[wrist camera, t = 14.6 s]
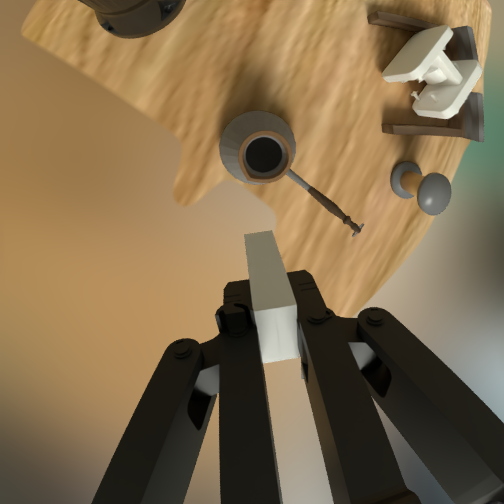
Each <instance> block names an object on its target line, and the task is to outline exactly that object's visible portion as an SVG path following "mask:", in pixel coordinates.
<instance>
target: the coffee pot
mask: <svg viewBox="0 0 504 504" xmlns="http://www.w3.org/2000/svg"><path fill="white" fill-rule="evenodd" d="M219 147H220V156H221V159H222V162H223V164H224V166H225V167H226V169H227V171H228V172H229V173H230V174H232V175H233V176H234V177H235V178H236V179H238V180H240V181H242V182H244V183H249V184H254V185H256V184H266V183H271V182H274V181H277V180H279V179H280V178H282V177H283V176H284V175H285V174H286V175H287V176H289V177H290V178H291V179H293V180H294V181H295V182H297V183H298V184H299V185H301V186H302V187H303V188H304V189H306V190H307V191H308V192H309V193H310V194H311V195H312V196H313V197H314V198H315V199H316V200H317V201H319V202H320V203H321V204H322V205H323V206H324V207H325V208H326V209H327V210H328V211H329V212H331V213H332V214H334V215H335V216H337V217H339V218H340V219H342V220H343V223H344V224H348V225H349V226H350V227H351V229H352V230H354V231H355V232H354V233H353V235H352V237H354V236H355V235H357V233H360V231H361V229H362V227H363V226H364V224H363V223H362V224H361V225H360V226H358V225H357V224H356V223H353V222H352V221H351V218H350V216H346V215H345V214H344V213H343V212H342V211H341V209H340V208H339V207H338V206H337V205H336V204H335V203H334V202H332V201H331V200H330V199H328V198H327V197H326V196H324V195H323V194H322V193H320V192H319V191H318V190H316V189H315V188H313V187H312V186H310V185H309V184H308V183H306V182H305V181H304V180H303V179H302V178H301V177H299V176H298V175H297V174H296V173H294V172H293V171H292V170H291V169H290V167H291V164H292V163H293V160H294V157H295V153H296V142H295V139H294V135H293V132H292V131H291V129H290V127H289V126H288V124H287V123H286V122H285V121H283V120H282V119H281V118H280V117H278V116H276V115H275V114H273V113H269V112H265V111H250V112H247V113H243V114H241V115H239V116H238V117H236V118H234V119H233V120H232V121H231V122H230V123H229V124H228V125H227V126H226V128H225V130H224V132H223V133H222V136H221V140H220V144H219ZM360 227H361V228H360ZM355 233H356V234H355Z"/></svg>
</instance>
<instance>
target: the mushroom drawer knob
mask: <svg viewBox="0 0 504 504" xmlns="http://www.w3.org/2000/svg"><path fill="white" fill-rule="evenodd" d="M390 182H391V187H392V190H393V191H394V193H395V194H396V195H398V196H399V197H401V198H404V199H409V198H412V197H414V196H415V197H417V201H418V205H419V207H420V208H421V209H422V211H424V212H425V213H427V214H429V215H438V214H440V213H441V212H443V211H444V210H445V209H446V207H447V206H448V204H449V202H450V198H451V185H450V182H449V180H448V179H447V178H446V177H445V176H444V175H442V174H439V173H430V174H428V175H426V176H425V177H424V176H422V173H421V170H420V168H419V167H418V166H417V165H416V164H414V163H411V162H407V161H405V162H401V163H399V164H398V165H397V166H396V167H395V168H394V170H393V171H392V174H391V179H390Z"/></svg>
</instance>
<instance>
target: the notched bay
mask: <svg viewBox="0 0 504 504" xmlns="http://www.w3.org/2000/svg"><path fill="white" fill-rule="evenodd" d="M367 18H368V23H369V24H374V25H380V26H387V27H393V28H398V29H403V30H408V31H413V32H417V33H418V32H420V31H423V30H427V29H431V28H435V27H438V26H439V25H436V24H433V23H429V22H426V21H422V20H418V19H414V18H410V17H406V16H401V15H397V14H392V13H386V12H381V11H376V12H375V13H373V14H371V15H369V16H368V17H367ZM451 30H452V31H453V36H452V37H451V39H450V40H449V41H448V43H447V44H446V46H447V47H446V46H445V47H446V48H445V49H446V50H442V51H443V52H444V53H445V55H446V56H447V57H448V58H449V60H450V61H459V60H477V61H478V55H477V49H476V44H475V39H474V34H473V29H472V28H471V27H469V26H462V27H457V28H452V29H451ZM478 63H479V62H478ZM458 111H459V112H458V113H457V114H455V115H454V116H452V117H451V118H449V127H442V126H427V125H406V124H382V132H383V133H388V134H393V135H433V136H451V137H463V138H467V139H470V140H475V141H478V142H484V115H483V97H482V94H481V93H475V92H470V93H469V95H468V96H467V100H465V103H463V104H462V106H461V107H460V109H459V110H458Z"/></svg>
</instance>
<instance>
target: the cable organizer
mask: <svg viewBox="0 0 504 504" xmlns="http://www.w3.org/2000/svg"><path fill="white" fill-rule="evenodd" d="M452 36H453V31H452V30H451V29H450V27H449V26H448V25H442V26H438V27H435V28H431V29H427V30H423V31H420V32H418V33H416V34H414V35H413V36H412V37H411V38H410V39H409V40H408V42H407V43H406V44H405V45H404V47H403V48H402V49H401V50H400V51H399V53H398V54H397V55H396V56H395V57H394V59H393V60H392V61H391V62H390V64H389V65H388V66H387V67H386V68H385V70H384V71H383V73H382V77H383V78H384V79H385V80H386V81H387V82H397V81H401V82H402V84H403V83H404V82H407V81H408V80H416V79H418V80H419V83H420V82H421V81H423V80H425V81H426V83H427V85H426V86H425V88H424V89H423V90H422V92H421V93H420V94H419V96H418V95H417V92H418V91H416V92H415V91H413V93H412V94H410V95H412V96H414V97H415V98H416V100H415V101H414V103H413V106H412V108H413V110H414V111H415V112H416V113H417V114H418V115H419V116H426V117H434V118H441V119H449V118H451V117H452V116H454V115H455V114H457V113H458V112H459V111H458V110H459V109H460V107H461V106H462V104H463V103H465V100H467V96H468V95H469V93H470V92H471V90H472V89H473V87H474V85H475V84H476V82H477V80H478V79H479V78H480V75H481V74H482V67H481V66H480V64H479V63H478V61H477V60H459V61H450V60H449V58H448V57H447V56H446V55H445V53H444V52H443V51H442V50H446V49H445V48H446V47H447V46H446V44H447V43H448V41H449V40H450V39H451V37H452ZM445 46H446V47H445ZM412 96H411V97H412Z"/></svg>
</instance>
